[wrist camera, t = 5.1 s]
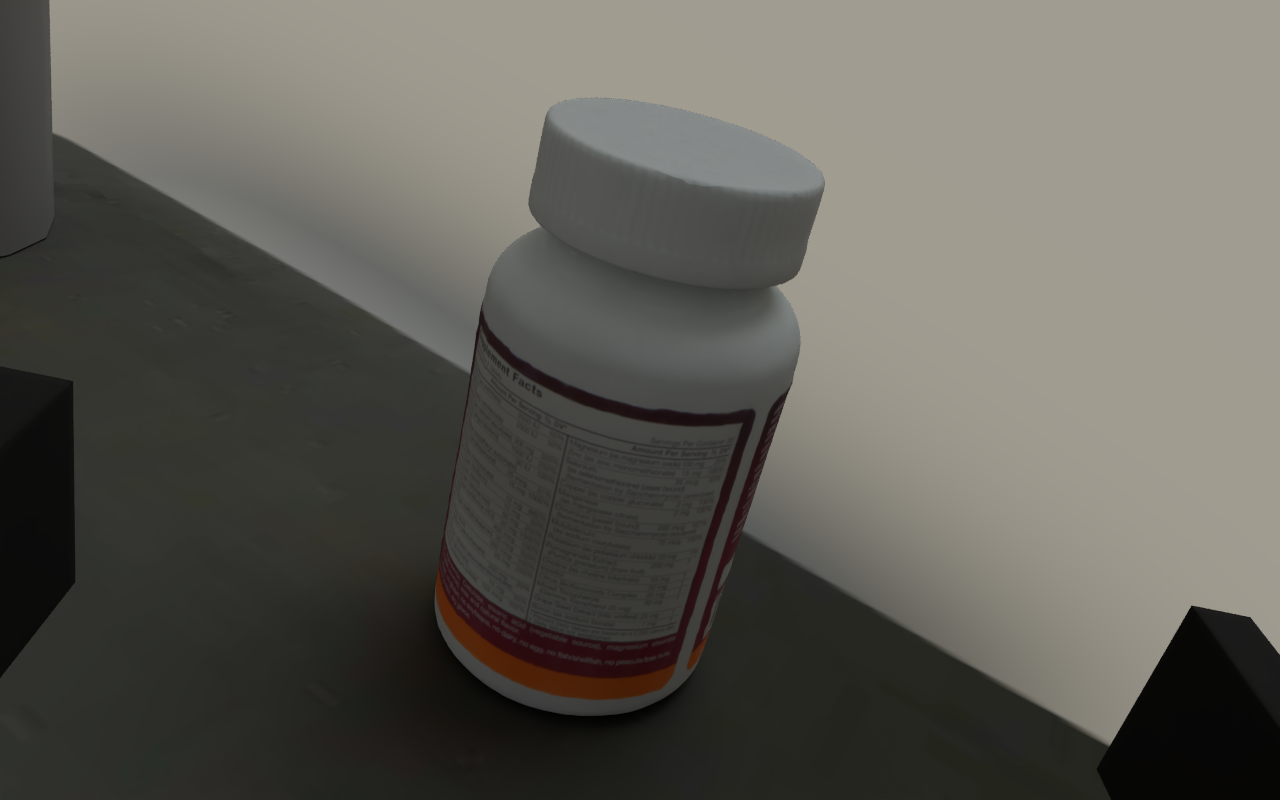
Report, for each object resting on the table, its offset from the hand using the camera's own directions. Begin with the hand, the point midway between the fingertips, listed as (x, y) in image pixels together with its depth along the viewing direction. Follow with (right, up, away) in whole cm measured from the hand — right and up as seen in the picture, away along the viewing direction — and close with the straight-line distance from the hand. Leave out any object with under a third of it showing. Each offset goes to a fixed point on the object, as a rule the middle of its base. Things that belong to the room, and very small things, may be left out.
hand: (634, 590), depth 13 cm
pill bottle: (-2, -3, +12) cm, 12 cm away
